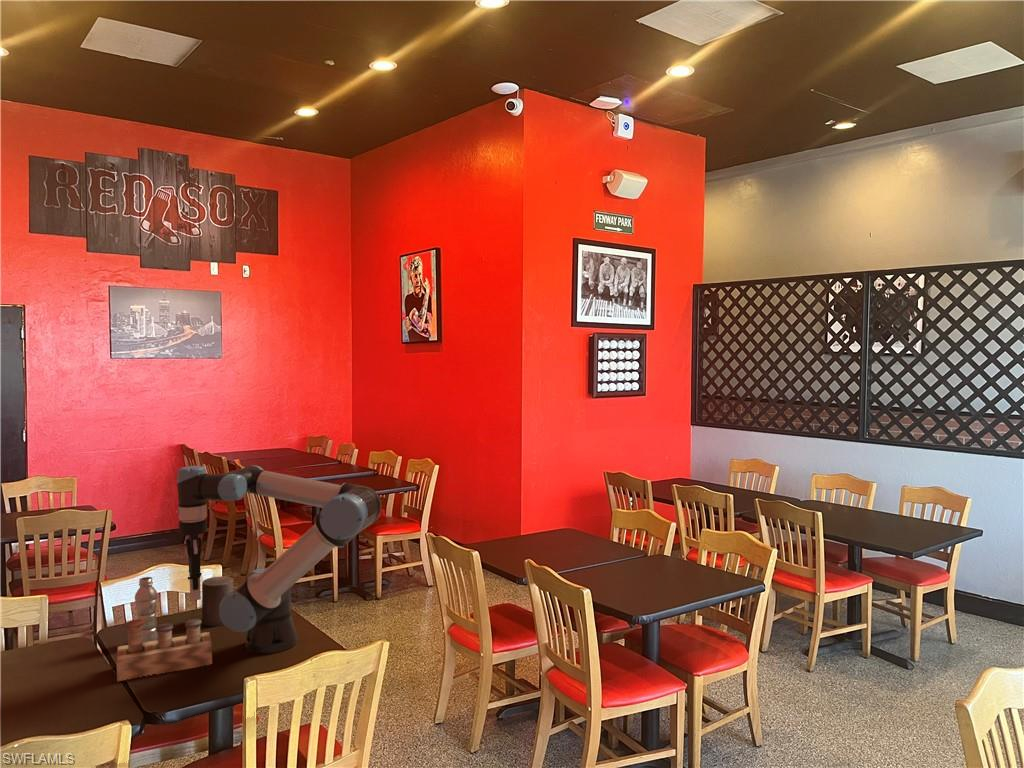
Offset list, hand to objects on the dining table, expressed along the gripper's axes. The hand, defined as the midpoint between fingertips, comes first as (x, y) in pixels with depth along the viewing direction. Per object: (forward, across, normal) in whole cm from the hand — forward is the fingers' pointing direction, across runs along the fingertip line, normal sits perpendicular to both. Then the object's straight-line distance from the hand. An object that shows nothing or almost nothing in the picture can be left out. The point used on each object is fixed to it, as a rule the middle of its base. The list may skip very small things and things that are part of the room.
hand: (195, 599), depth 212 cm
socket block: (+17, +2, -9) cm, 19 cm away
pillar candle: (+17, -28, +9) cm, 35 cm away
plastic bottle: (+17, -20, -12) cm, 29 cm away
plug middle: (+17, +1, -9) cm, 19 cm away
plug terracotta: (+14, +1, -16) cm, 21 cm away
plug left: (+17, +2, -1) cm, 17 cm away
